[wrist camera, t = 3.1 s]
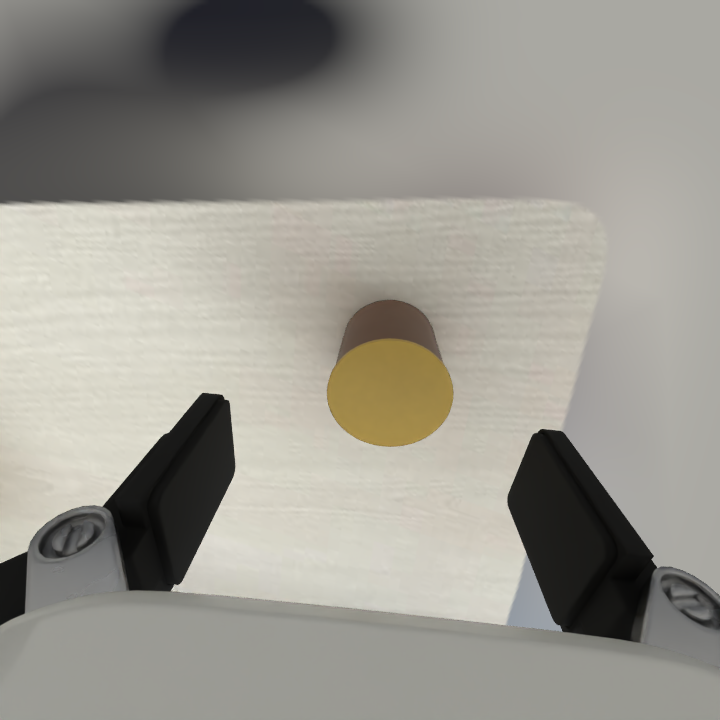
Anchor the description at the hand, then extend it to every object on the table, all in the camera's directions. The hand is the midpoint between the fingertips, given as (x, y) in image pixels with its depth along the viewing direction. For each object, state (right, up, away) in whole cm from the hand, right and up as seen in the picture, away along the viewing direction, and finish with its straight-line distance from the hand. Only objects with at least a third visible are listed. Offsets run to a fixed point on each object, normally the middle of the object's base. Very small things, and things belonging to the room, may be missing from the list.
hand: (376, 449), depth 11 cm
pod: (+1, +4, +7) cm, 8 cm away
